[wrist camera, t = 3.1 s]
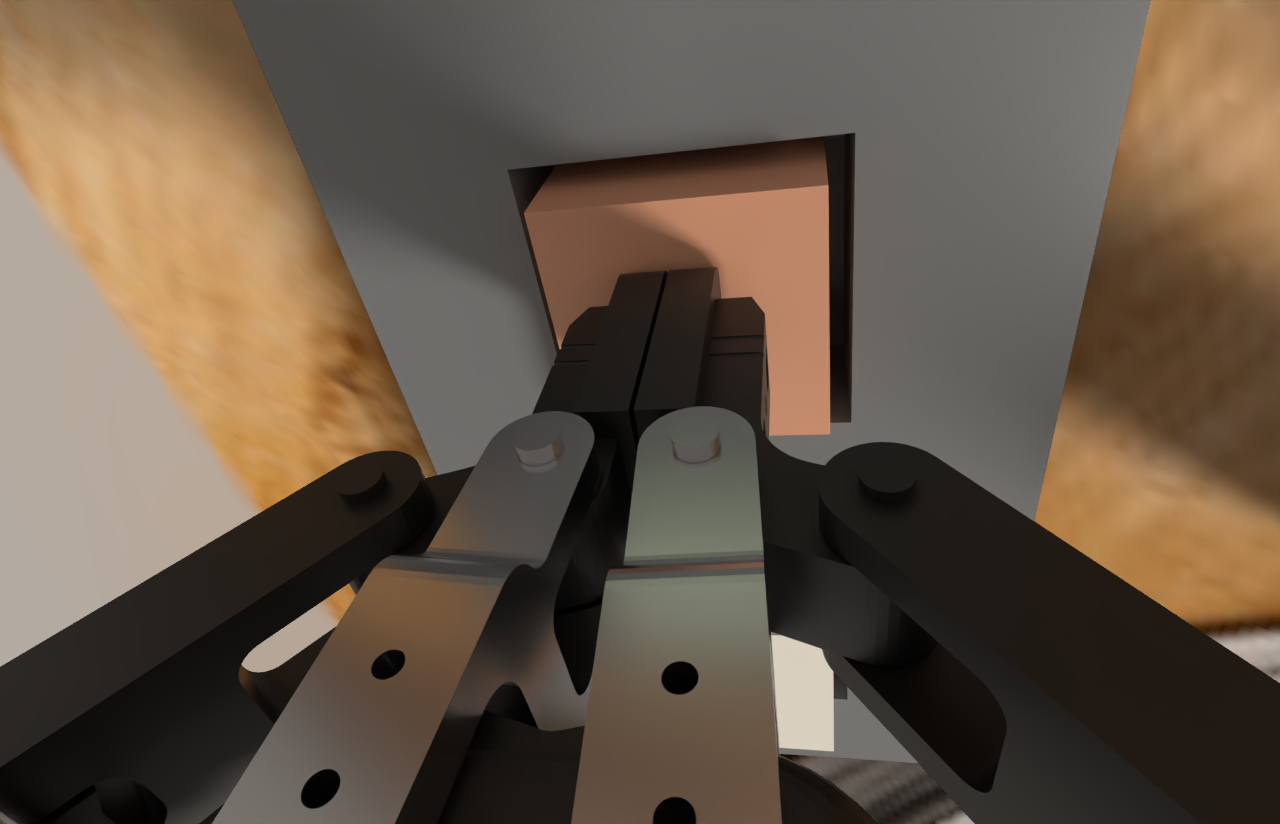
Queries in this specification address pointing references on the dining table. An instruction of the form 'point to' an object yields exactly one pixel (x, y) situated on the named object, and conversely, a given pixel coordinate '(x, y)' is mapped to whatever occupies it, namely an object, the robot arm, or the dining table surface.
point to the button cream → (803, 695)
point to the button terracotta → (704, 247)
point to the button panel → (718, 117)
